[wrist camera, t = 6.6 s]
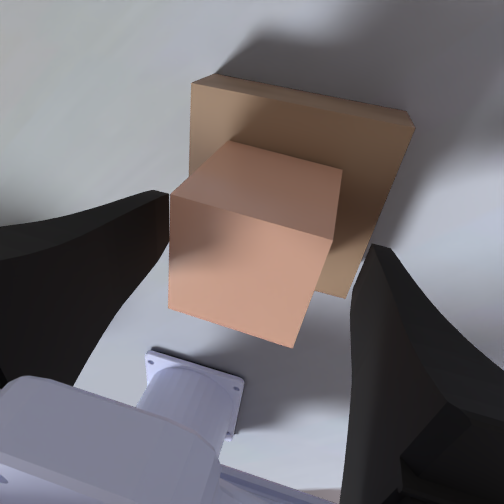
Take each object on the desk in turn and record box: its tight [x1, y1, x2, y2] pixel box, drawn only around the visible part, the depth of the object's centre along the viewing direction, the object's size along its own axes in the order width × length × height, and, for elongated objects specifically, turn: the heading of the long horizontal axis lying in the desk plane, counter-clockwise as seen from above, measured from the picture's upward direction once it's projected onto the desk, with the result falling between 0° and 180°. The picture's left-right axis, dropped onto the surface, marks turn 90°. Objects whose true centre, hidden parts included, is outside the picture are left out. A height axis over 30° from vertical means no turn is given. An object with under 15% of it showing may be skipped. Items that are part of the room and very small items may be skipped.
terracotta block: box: [168, 140, 343, 348], centre depth 12 cm, size 4×4×5 cm
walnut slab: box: [189, 74, 415, 299], centre depth 15 cm, size 8×8×3 cm
